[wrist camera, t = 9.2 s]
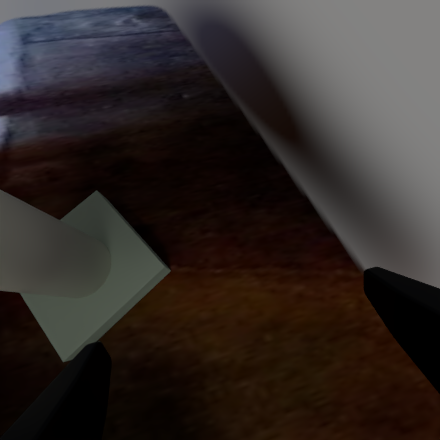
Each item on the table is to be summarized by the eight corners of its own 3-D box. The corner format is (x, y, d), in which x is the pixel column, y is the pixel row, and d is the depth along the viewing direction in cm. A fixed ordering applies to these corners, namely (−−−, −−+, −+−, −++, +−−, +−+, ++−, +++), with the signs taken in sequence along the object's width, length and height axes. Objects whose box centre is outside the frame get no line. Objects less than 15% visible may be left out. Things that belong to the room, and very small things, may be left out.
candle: (123, 255, 22) (-24, 182, 10) (85, 310, 21) (-135, 303, 9) (78, 228, 23) (-100, 134, 11) (40, 278, 22) (-208, 233, 10)
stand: (171, 270, 23) (164, 266, 21) (79, 357, 21) (63, 361, 19) (107, 199, 26) (96, 190, 24) (21, 270, 24) (3, 266, 22)
